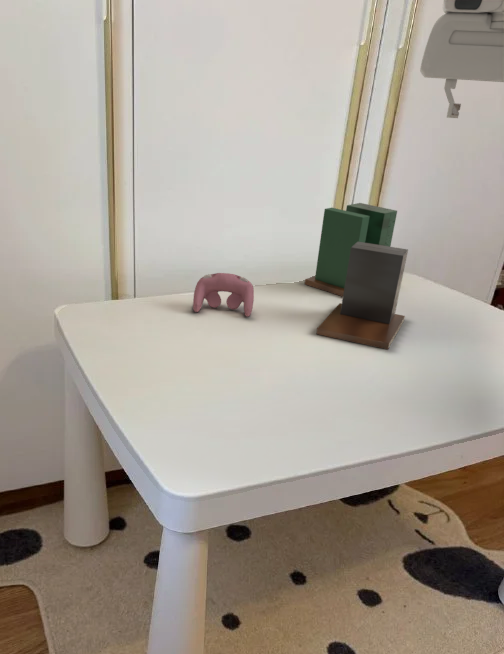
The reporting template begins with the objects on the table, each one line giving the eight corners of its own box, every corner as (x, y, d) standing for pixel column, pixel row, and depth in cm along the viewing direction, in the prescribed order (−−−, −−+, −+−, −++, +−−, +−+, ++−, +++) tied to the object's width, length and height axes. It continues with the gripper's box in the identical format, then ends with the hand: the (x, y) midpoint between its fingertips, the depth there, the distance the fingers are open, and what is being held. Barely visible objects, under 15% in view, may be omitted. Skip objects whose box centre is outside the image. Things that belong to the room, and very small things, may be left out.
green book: (357, 288, 116) (369, 216, 109) (350, 290, 114) (362, 217, 108) (321, 277, 120) (331, 207, 114) (314, 279, 119) (324, 208, 113)
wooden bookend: (403, 321, 104) (419, 249, 99) (387, 349, 94) (404, 270, 88) (338, 308, 108) (349, 238, 103) (316, 334, 97) (327, 257, 92)
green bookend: (393, 286, 121) (407, 211, 115) (353, 300, 113) (367, 220, 106) (345, 271, 128) (356, 200, 121) (304, 284, 119) (314, 208, 113)
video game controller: (252, 319, 106) (256, 277, 106) (251, 316, 101) (256, 272, 101) (193, 314, 107) (197, 272, 106) (190, 310, 102) (195, 267, 102)
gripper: (606, 4, 78) (569, 125, 85) (434, -2, 83) (412, 113, 90) (618, -1, 73) (578, 128, 79) (434, -7, 78) (410, 116, 85)
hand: (488, 120), depth 85 cm, fingers open, 8 cm apart
